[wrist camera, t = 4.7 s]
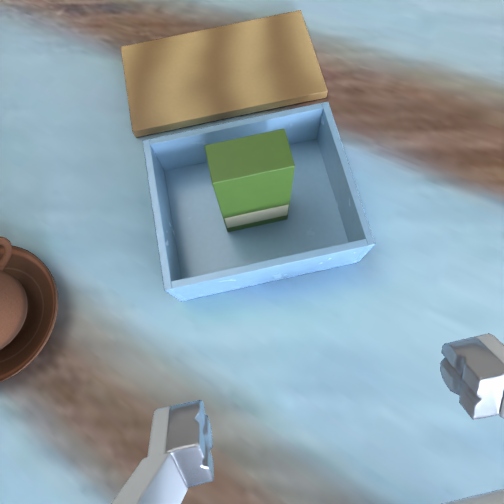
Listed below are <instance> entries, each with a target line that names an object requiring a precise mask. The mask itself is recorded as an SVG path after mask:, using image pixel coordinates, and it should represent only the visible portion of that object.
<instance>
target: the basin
mask: <svg viewBox="0 0 504 504" xmlns="http://www.w3.org/2000/svg"><path fill="white" fill-rule="evenodd" d="M279 129H285V132H286V135H287V139H288V142H289V146H290V150H291V153H292V157H293V160H294V164H295V169H294V176H293V183H292V190H291V197H290V204H289V212H288V219H287V220H282V221H277V222H273V223H268V224H264V225H259V226H254V227H250V228H245V229H241V230H236V231H231V232H227V230H226V226H225V223H224V220H223V217H222V214H221V211H220V207H219V204H218V201H217V198H216V195H215V192H214V188H213V185H212V181H211V176H210V172H209V167H208V162H207V157H206V152H205V145H208V144H213V143H218V142H223V141H227V140H232V139H237V138H241V137H246V136H251V135H256V134H260V133H265V132H270V131H275V130H279ZM143 147H144V154H145V161H146V168H147V175H148V182H149V189H150V195H151V202H152V209H153V216H154V223H155V230H156V237H157V243H158V250H159V257H160V264H161V271H162V278H163V285H164V290H165V291H166V292H168V293H169V294H171V295H172V296H174V297H175V298H176V299H178V300H179V301H185V300H190V299H194V298H199V297H203V296H208V295H212V294H217V293H222V292H226V291H231V290H235V289H240V288H244V287H249V286H253V285H258V284H262V283H267V282H271V281H276V280H281V279H285V278H290V277H294V276H299V275H303V274H308V273H312V272H317V271H321V270H326V269H330V268H335V267H339V266H344V265H349V264H353V263H358V262H359V261H360V260H361V259H362V258H363V257H364V256H365V255H366V254H367V253H368V252H369V251H370V249H371V248H372V247H373V246H374V245H375V241H374V238H373V235H372V232H371V229H370V226H369V223H368V220H367V217H366V214H365V211H364V208H363V205H362V202H361V199H360V196H359V193H358V190H357V187H356V184H355V181H354V178H353V175H352V172H351V169H350V166H349V163H348V160H347V157H346V154H345V151H344V148H343V145H342V142H341V139H340V136H339V133H338V130H337V127H336V124H335V121H334V118H333V115H332V112H331V109H330V106H329V103H328V102H323V103H318V104H313V105H309V106H304V107H299V108H294V109H290V110H285V111H280V112H275V113H271V114H266V115H261V116H256V117H252V118H247V119H242V120H237V121H233V122H228V123H223V124H218V125H213V126H209V127H204V128H199V129H194V130H190V131H185V132H180V133H175V134H171V135H166V136H161V137H156V138H152V139H150V140H149V139H147V140H143Z"/></svg>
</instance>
